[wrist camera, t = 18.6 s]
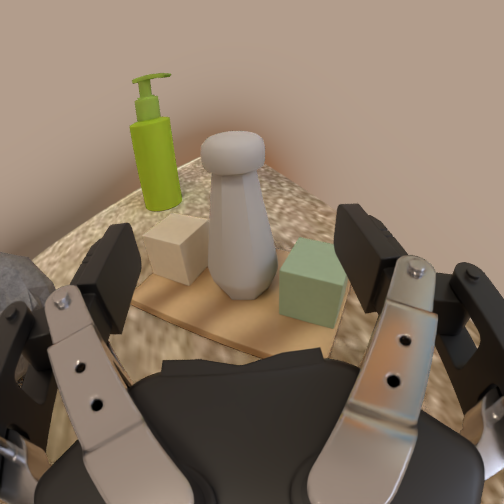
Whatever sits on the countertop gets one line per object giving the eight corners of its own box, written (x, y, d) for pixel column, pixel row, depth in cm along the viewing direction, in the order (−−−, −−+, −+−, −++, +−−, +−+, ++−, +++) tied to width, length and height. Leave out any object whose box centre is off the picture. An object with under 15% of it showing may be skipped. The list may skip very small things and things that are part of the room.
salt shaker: (235, 257, 28) (221, 125, 21) (288, 274, 26) (289, 128, 18) (199, 294, 24) (169, 143, 17) (257, 317, 22) (247, 147, 14)
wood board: (130, 304, 25) (126, 296, 24) (198, 238, 34) (197, 231, 33) (321, 377, 18) (323, 370, 18) (353, 274, 27) (355, 266, 26)
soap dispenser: (178, 212, 40) (156, 71, 28) (139, 211, 41) (114, 82, 30) (193, 194, 44) (178, 70, 33) (157, 194, 46) (138, 78, 34)
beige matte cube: (153, 273, 27) (141, 235, 24) (179, 249, 30) (171, 212, 28) (189, 286, 25) (179, 244, 23) (215, 258, 29) (209, 218, 26)
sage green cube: (278, 314, 22) (278, 269, 19) (296, 279, 25) (299, 236, 23) (333, 329, 20) (343, 285, 18) (345, 291, 24) (353, 248, 21)
